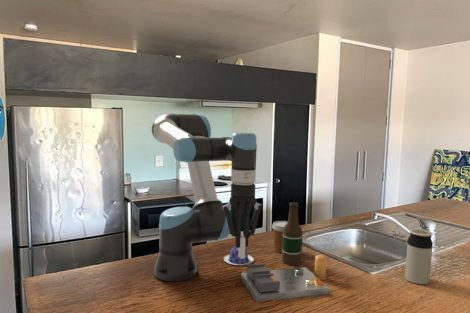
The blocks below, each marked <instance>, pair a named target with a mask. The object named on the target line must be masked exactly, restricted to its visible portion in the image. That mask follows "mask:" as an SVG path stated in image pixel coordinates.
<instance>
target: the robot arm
mask: <svg viewBox="0 0 470 313" xmlns="http://www.w3.org/2000/svg"><path fill="white" fill-rule="evenodd" d="M151 125H152V126H151V134H152V136H153V138H154V139H155V140H156V141H157V142H159V143H162V144H165V145H167V146H169V147H170V148H171V149H172V150H173V157H174V158H175V160H176V161H177V162H180V163H184V162H185V163H187V167H188V172H189V177H190V182H191V188H192V192H193V199H194V202H195V204H193V206H192V208H191V207H189V206H175V207H171V208H167V209H166V210H164V211H162V212H161V214H160V215H159V224H158V227H159V228H158V229H159V231H158V232H159V236H158V237H159V238H158V239H159V242H158V243H159V244H158V246H159V248H158V249H159V252H158V255H157V259H156V261H155V265H154V268H153V274H154V275H153V276H154V277H155V278H157V279H158V280H161V281H165V282H182V281H186V280H189V279H192V278H194V277H195V276H196V274H197V264H196V260H195V258H194V254H193V244H196V243H204V242H211V241H218V240H224V239H226V238H227V237H229V235H231V236H232V237H235V240H234V241H235V246H236V247H237V248H238V256H239V258H240V259H244V258H245V248H248V247H249V239H250V237H251V236H254V235H255V233H256V229H257V225H258V221H259V219H260V218H259V216H260V213H261V212H262V210H263V209H264V205H263V204H261V203H259V202H257V199H256V184H255V182H256V173H257V172H256V170H257V169H256V168H257V149H258V145H257V135H256V134H255V133H252V132H234V133H233V134H232V136H230V137H229V136H223V137H212V131H211V130H212V127H211V124H210V121H209V119H208V117H206V116H205V115H204V114H197V113H192V114H189V113H166V114H162V115H160V116H158V117H157V118H156V119H155V120H154V121H153V122H152V124H151ZM222 161H223V162H224V161H226V162H227V161H230V162H231V171H230V172H231V174H230V180H231V184H230V198H229V200H228V203H226V204H223V201H222V200H220V199H218V197H217V196H218V195H217V191H216V186H215V183H214V178H213V173H212V170H211V165H210V162H222ZM253 208H254V209H253ZM232 209H233V210H234V211H235V212H234V214H235V221H234V222H235V227H234V222H233V218H232V216H233V215H232V212H231V210H232ZM252 209H253V211H252ZM251 211H252V212H253V213H252V217H251ZM242 216H243V220H242ZM250 217H251V218H250ZM242 223H243V225H242ZM242 226H243V227H242Z"/></svg>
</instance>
